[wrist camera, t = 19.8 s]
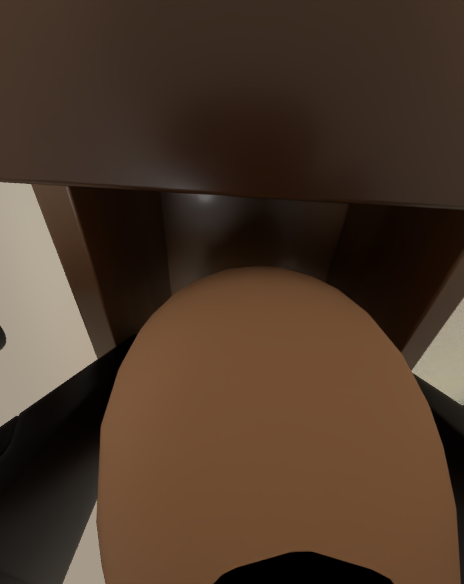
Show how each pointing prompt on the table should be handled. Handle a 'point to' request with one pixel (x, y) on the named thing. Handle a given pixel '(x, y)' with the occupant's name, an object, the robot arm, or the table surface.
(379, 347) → the egg
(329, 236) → the drawer
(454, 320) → the table surface
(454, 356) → the table surface
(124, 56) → the cabinet
